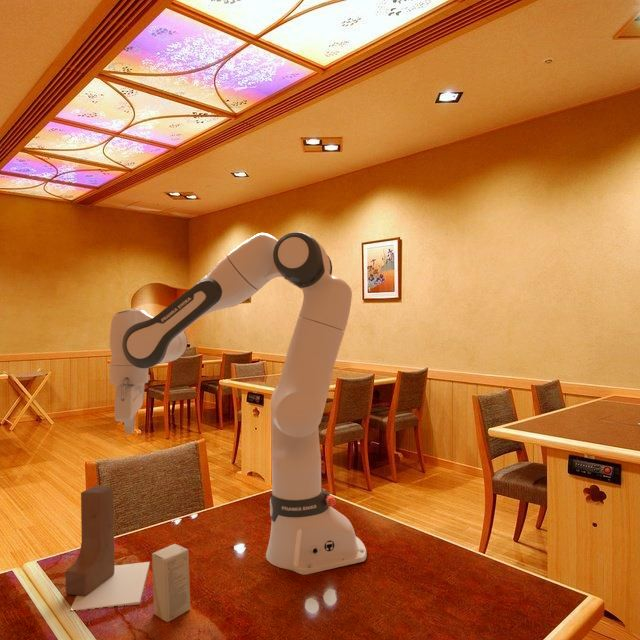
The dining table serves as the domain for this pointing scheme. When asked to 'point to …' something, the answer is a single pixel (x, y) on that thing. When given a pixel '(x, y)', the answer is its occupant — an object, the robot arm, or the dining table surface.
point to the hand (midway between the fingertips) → (129, 432)
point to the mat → (116, 588)
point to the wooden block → (93, 542)
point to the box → (171, 582)
